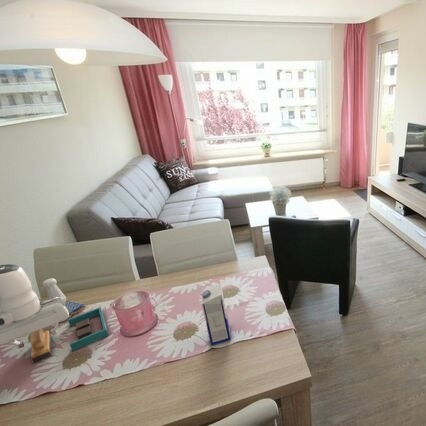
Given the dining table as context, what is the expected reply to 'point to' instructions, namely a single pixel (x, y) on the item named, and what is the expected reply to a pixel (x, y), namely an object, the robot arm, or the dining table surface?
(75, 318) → the corral
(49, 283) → the salt shaker
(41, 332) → the brush
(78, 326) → the chip
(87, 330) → the chip
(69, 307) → the woven mat
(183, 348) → the dining table surface
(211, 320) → the milk carton
